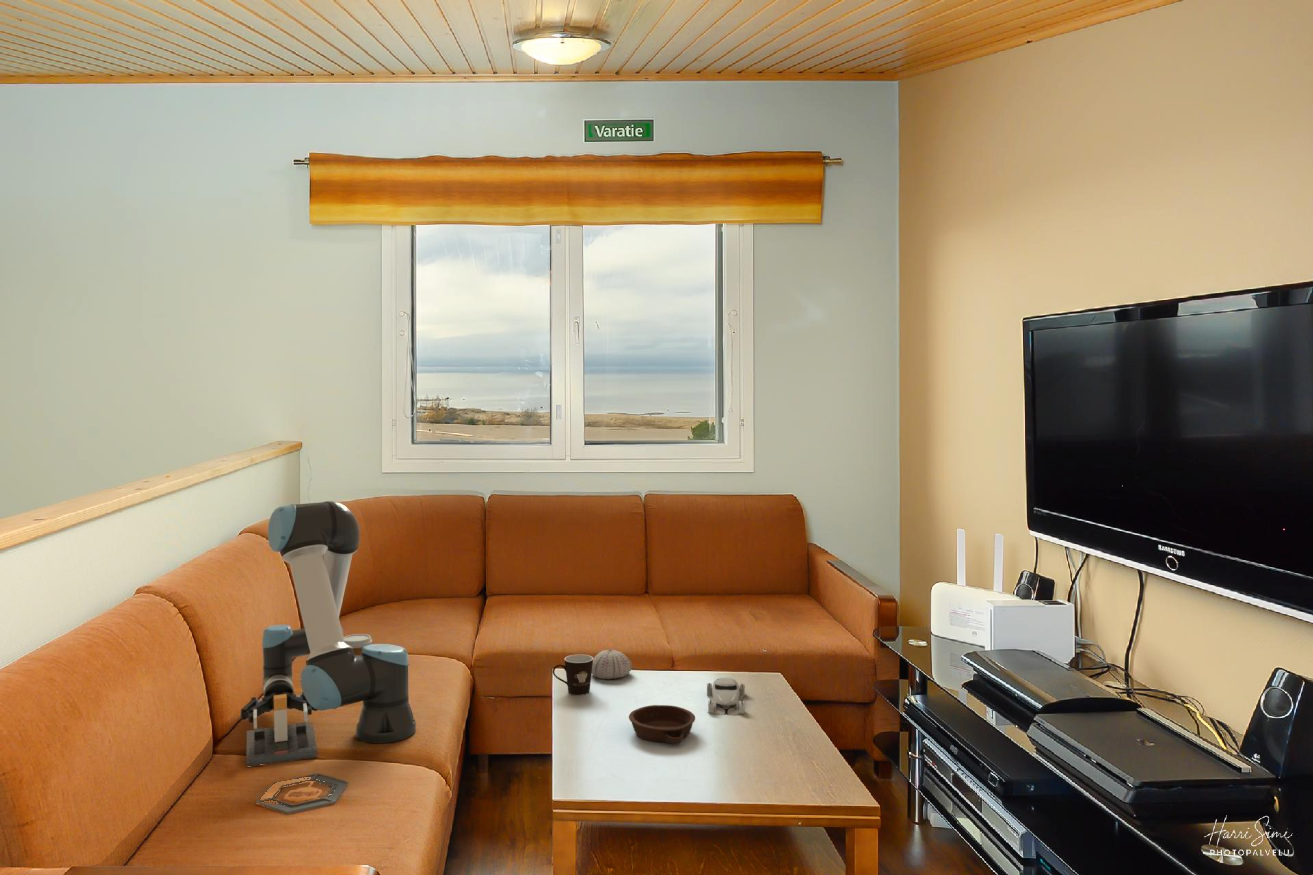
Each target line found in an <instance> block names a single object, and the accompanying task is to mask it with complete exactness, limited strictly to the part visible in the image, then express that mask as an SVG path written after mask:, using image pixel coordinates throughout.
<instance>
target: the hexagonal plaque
mask: <svg viewBox="0 0 1313 875" xmlns="http://www.w3.org/2000/svg"><path fill="white" fill-rule="evenodd" d="M302 777H303V778H304V777H311V779H310V780H305V781H316V782H318V783H317V784H319V783H321V784H320V785H322V784H325V785H324V786H326V785H328V786H327V787H329V786H331V787H330V789H329V790H328V792H327V793H326V795H324V797H319V798H320V799H312V800H308V801H303V802H299V803H289V802H287V801H283V800H277V799H278V798H276V797H275V795H276V794H277V793H278V792H279V790H281V788H282V787H283V786H287V785H288V786H289V785H292V784H299V783H302V782H305V781H300V782H295V783H291V784H286V785H282V786H281V787H280V788H279V790H278V791H277V792H276V793H275V794H274V795H273V797H272V798H268V799H264V800H260V799H261V797H262V796H263V795H264V794H265V792H267V790H268V789H269V788H270V787H271V786H272V785H273V784H275V783H277V782H281V781H287V780H292V779H299V778H302ZM304 779H305V778H304ZM307 779H309V778H307ZM316 779H318V780H316ZM319 780H320V781H319ZM323 781H325V782H323ZM348 784H349V785H350V782H349V781H347V780H344V779H340V778H336V777H333V776H329V775H327V774H323V773H319V772H315V773H312V774H307V775H302V776H298V777H293V778H289V779H283V780H278V781H273V782H272V783H271V784H270V785H269V786H268V787H267V788H266V789H265V790H264V792H263V793H262V794H261V796H259V798H257V800H256V801H255V804H256V803H259V804H260V805H264V806H265V807H264V808H266V807H269V808H271V809H270V810H272V809H274V810H273V811H275V810H277V811H276V812H279V813H282V812H284V813H283V814H285V815H290V814H295V813H294V812H296V813H300V812H304V811H303V810H305V811H309V810H313V809H316V808H317V809H319V808H321V807H326V806H330V805H336V804H335V803H337V802H338V801H339V799H340V798H341V797H342V795H343V793H344V792H345V790H346V789H347V788H346V787H348V786H349V785H348ZM345 788H346V789H345ZM334 790H335V791H334ZM281 791H282V790H281ZM279 793H280V792H279ZM329 794H332V795H329ZM341 794H342V795H341ZM328 795H329V796H328ZM274 797H275V798H274ZM327 797H328V798H327ZM329 797H330V798H329ZM339 797H340V798H339ZM338 798H339V799H338ZM269 800H270V801H271V800H273V801H277V802H278V803H279V804H276V802H275V803H274V804H273V802H270V803H272V804H269V802H264V801H269ZM337 800H338V801H337ZM261 802H264V803H261ZM265 803H268V804H265ZM281 803H282V804H281ZM284 805H285V806H284ZM269 808H268V809H269ZM308 809H309V810H308Z"/></svg>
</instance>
